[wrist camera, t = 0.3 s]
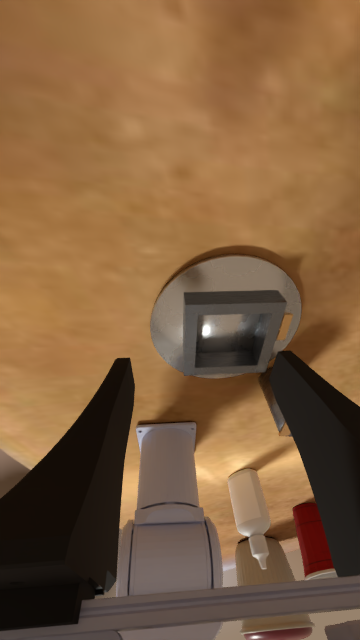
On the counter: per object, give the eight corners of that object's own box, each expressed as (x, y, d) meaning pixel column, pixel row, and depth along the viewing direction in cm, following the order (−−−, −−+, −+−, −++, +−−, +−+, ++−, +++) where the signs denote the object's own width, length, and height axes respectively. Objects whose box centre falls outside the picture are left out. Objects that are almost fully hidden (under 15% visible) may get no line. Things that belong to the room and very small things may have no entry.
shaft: (287, 387, 30) (313, 437, 25) (255, 389, 29) (274, 439, 24) (297, 364, 27) (327, 414, 22) (262, 366, 27) (285, 416, 22)
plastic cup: (327, 494, 52) (364, 574, 42) (330, 508, 58) (363, 581, 48) (277, 504, 54) (302, 583, 45) (285, 517, 60) (308, 589, 51)
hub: (278, 371, 28) (287, 390, 26) (154, 376, 27) (154, 396, 25) (320, 252, 19) (339, 265, 17) (144, 255, 19) (142, 269, 17)
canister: (250, 530, 65) (281, 667, 48) (299, 534, 71) (343, 658, 54) (214, 548, 74) (230, 668, 57) (261, 550, 80) (287, 661, 63)
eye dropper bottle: (223, 472, 43) (241, 569, 33) (254, 465, 42) (282, 562, 32) (229, 481, 45) (247, 574, 36) (258, 475, 44) (285, 568, 35)
